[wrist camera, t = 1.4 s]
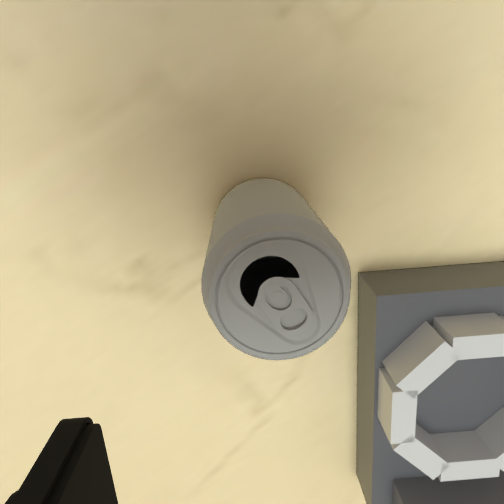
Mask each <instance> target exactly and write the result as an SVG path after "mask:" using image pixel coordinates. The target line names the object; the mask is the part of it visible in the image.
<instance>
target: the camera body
mask: <svg viewBox="0 0 504 504" xmlns="http://www.w3.org/2000/svg"><path fill="white" fill-rule="evenodd" d="M356 474H357V476H358V479H359V482H360V485H361V488H362V491H363V494H364V497H365V500H366V503H367V504H504V261H500V262H487V263H475V264H462V265H449V266H437V267H424V268H411V269H399V270H386V271H373V272H361V273H358V366H357V470H356Z"/></svg>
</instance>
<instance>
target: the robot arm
mask: <svg viewBox="0 0 504 504" xmlns="http://www.w3.org/2000/svg"><path fill="white" fill-rule="evenodd" d="M5 504H118V501H117V497H116V492H115V488H114V483H113V479H112V474H111V470H110V465H109V461H108V456H107V452H106V447H105V443H104V438H103V434H102V429H101V426H100V425H99V424H93V421H92V419H91V418H89V417H85V418H72V419H63V420H61V421H60V422H59V423H58V425H57V426H56V428H55V430H54V432H53V433H52V435H51V437H50V438H49V440H48V442H47V443H46V445H45V447H44V448H43V450H42V452H41V453H40V455H39V457H38V458H37V460H36V462H35V464H34V465H33V467H32V469H31V470H30V472H29V474H28V475H27V477H26V479H25V480H24V482H23V484H22V485H21V487H20V489H19V490H18V491H16V492H15V493H13V494H12V495H11V496H10V497H9V499H8V500H7V501H6V503H5Z"/></svg>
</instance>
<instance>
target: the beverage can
mask: <svg viewBox="0 0 504 504" xmlns="http://www.w3.org/2000/svg"><path fill="white" fill-rule="evenodd" d="M350 289H351V272H350V266H349V262H348V259H347V256H346V254H345V252H344V250H343V248H342V246H341V245H340V243H339V242H338V241H337V239H336V238H335V237H334V235H333V234H332V233H331V232H330V231H329V229H328V228H327V227H326V226H325V224H324V223H323V222H322V221H321V219H320V218H319V217H318V216H317V214H316V213H315V212H314V211H313V210H312V208H311V207H310V206H309V205H308V203H307V202H306V201H305V200H304V198H303V197H302V196H301V195H300V194H299V193H298V192H297V191H296V190H295V189H294V188H293V187H291V186H289V185H288V184H286V183H284V182H281V181H279V180H275V179H270V178H260V179H252V180H248V181H245V182H243V183H241V184H239V185H237V186H236V187H234V188H233V189H232V190H230V191H229V192H228V193H227V194H226V195H225V197H224V198H223V199H222V201H221V202H220V204H219V206H218V208H217V211H216V213H215V217H214V222H213V227H212V231H211V236H210V240H209V245H208V250H207V254H206V259H205V264H204V268H203V273H202V296H203V301H204V304H205V307H206V309H207V312H208V314H209V316H210V318H211V319H212V321H213V322H214V324H215V326H216V327H217V329H218V331H219V332H220V334H221V335H222V336H223V337H224V338H225V339H226V340H227V341H228V342H229V343H230V344H231V345H233V346H234V347H235V348H237V349H238V350H240V351H242V352H244V353H246V354H248V355H251V356H253V357H257V358H261V359H267V360H287V359H293V358H297V357H300V356H303V355H306V354H308V353H310V352H312V351H314V350H316V349H318V348H319V347H321V346H322V345H323V344H325V343H326V342H327V341H328V340H329V339H330V338H331V337H332V336H333V335H334V334H335V333H336V331H337V330H338V329H339V327H340V326H341V324H342V322H343V320H344V318H345V316H346V313H347V310H348V306H349V301H350Z"/></svg>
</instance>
